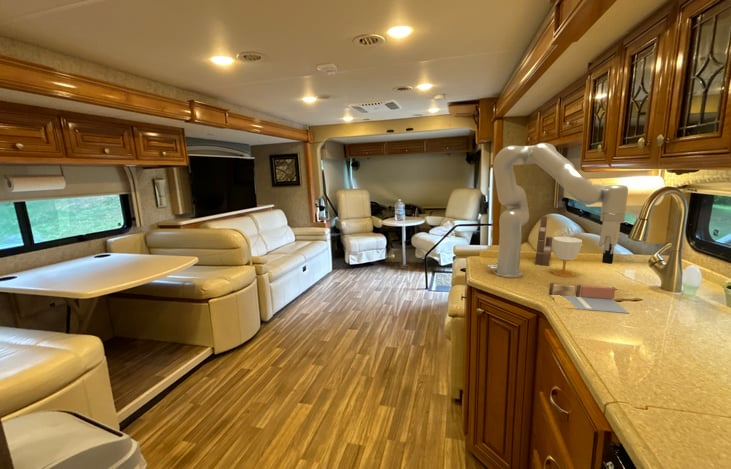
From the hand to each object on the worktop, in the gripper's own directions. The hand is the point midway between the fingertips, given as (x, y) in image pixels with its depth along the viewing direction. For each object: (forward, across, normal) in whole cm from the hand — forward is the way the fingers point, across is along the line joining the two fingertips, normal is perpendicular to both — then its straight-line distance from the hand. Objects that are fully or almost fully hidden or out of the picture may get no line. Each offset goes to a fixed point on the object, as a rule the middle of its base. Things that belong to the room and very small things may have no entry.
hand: (607, 262), depth 131 cm
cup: (+13, -17, -19) cm, 28 cm away
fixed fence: (+12, +14, -11) cm, 21 cm away
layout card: (+13, +16, -3) cm, 20 cm away
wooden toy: (+12, -32, -32) cm, 47 cm away
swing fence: (+12, +8, -1) cm, 15 cm away
